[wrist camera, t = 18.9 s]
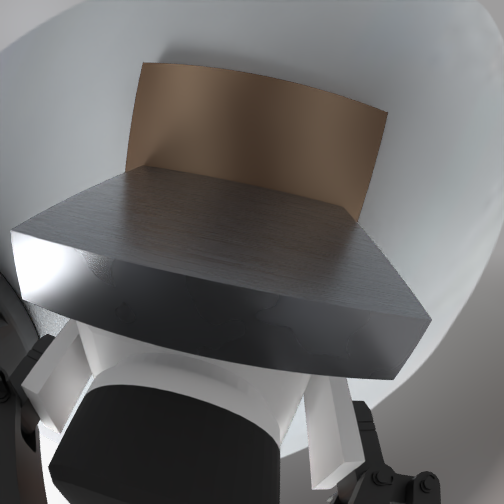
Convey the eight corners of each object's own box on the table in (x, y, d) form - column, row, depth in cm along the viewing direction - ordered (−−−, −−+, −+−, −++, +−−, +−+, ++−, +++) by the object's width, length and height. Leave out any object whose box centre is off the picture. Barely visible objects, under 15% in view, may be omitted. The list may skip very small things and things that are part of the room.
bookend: (139, 203, 14) (22, 299, 6) (142, 165, 13) (10, 230, 5) (331, 243, 15) (393, 380, 6) (343, 206, 14) (432, 319, 6)
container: (151, 219, 15) (-35, 425, 3) (301, 239, 15) (356, 537, 3) (156, 334, 18) (77, 519, 6) (275, 353, 18) (271, 562, 6)
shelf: (134, 362, 21) (128, 375, 20) (153, 67, 13) (142, 62, 11) (279, 392, 22) (279, 406, 20) (377, 113, 13) (387, 112, 12)
